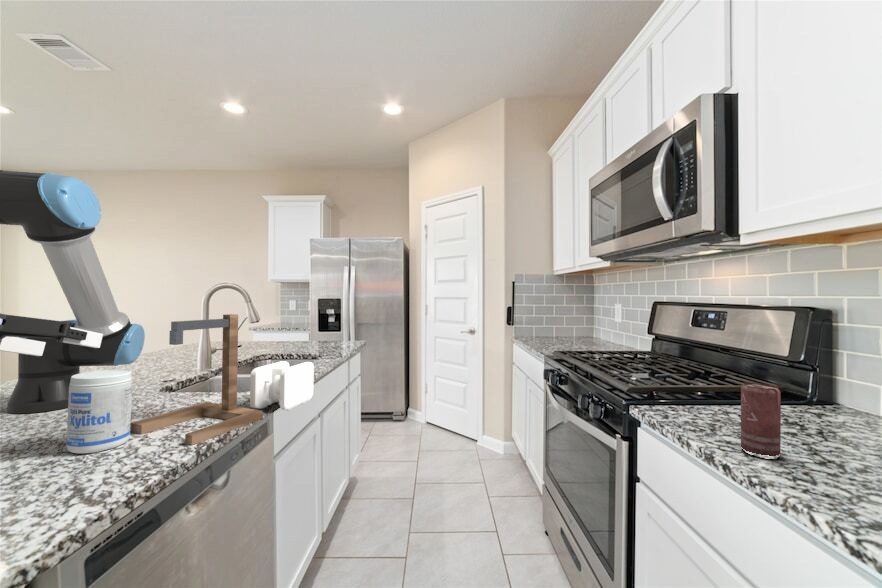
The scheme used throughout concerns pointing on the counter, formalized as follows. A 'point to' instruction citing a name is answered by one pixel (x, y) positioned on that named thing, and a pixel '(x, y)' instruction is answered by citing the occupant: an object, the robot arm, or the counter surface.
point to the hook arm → (193, 328)
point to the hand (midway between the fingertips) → (71, 345)
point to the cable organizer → (281, 385)
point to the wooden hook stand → (226, 410)
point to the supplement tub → (99, 410)
